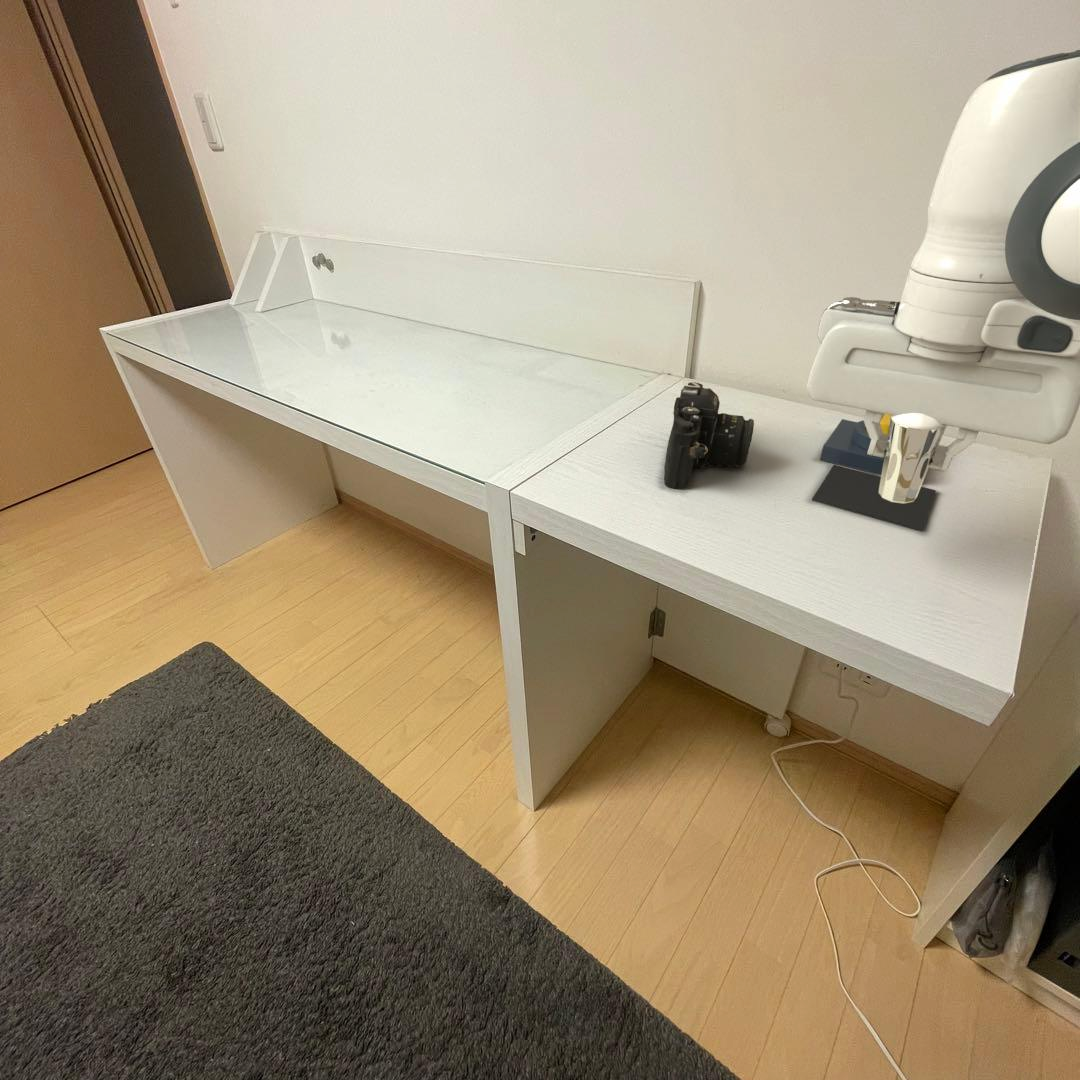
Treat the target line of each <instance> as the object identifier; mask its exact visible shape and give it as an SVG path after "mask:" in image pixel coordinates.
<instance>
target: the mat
mask: <svg viewBox="0 0 1080 1080" xmlns="http://www.w3.org/2000/svg"><path fill="white" fill-rule="evenodd" d="M880 480H881V475H877V474H873V473H869V472H865V471H861V470H857V469H853V468H849V467H845V466H841V465H837V464H833V465H832V466H831V468H830V470H829V471H828V473H827V475H826V476H825V478H824V479H823V480H822V482H821V483H820V486H819V487H818V488H817V490H816V491H815V492H814V493H815V494H814V495H813V496H812V498H811V501H813V502H816V503H819V504H823V505H826V506H830V507H834V508H837V509H840V510H844V511H847V512H851V513H854V514H859V515H862V516H866V517H869V518H873V519H877V520H880V521H883V522H887V523H890V524H894V525H898V526H901V527H905V528H908V529H912V530H914V531H919V532H923V530H924V527H925V525H926V521H927V519H928V516H929V512H930V510H931V507H932V503H933V500H934V498H935V496H936V492H937V490H936V489H934V488H933V489H932V488H928V487H926V486H925V487H924V486H921V488H920V491H919V493H918V496H917V497H916V499H915V500H914V502H909V503H896V502H891V501H889V500H886V499H884V498H882V497H881V495H880V494H879V486H880Z"/></svg>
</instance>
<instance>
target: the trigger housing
mask: <svg viewBox="0 0 1080 1080" xmlns="http://www.w3.org/2000/svg"><path fill="white" fill-rule="evenodd" d="M870 442H871V439H870V437H869V434H868V431H867V428H866V426H865V423H864V419H862V420H859V421H853V420H848V419H844V418H842V419H841V420H840V421H839V422H838V424H837V426H836V427H835V429H833V431H832V433H831V434H830V435H829V437H828V439H827V440H826V441H825V443H824V444H823V446H822V450H821V453H820V456H819V461H821V462H826V463H829V464H833V465H837V466H841V467H845V468H849V469H853V470H857V471H861V472H865V473H869V474H873V475H877V476H881V474H882V468H883V462H884V458H882V457H877V456H872V455H868V454H867V452H868V449H869V445H870Z"/></svg>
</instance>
